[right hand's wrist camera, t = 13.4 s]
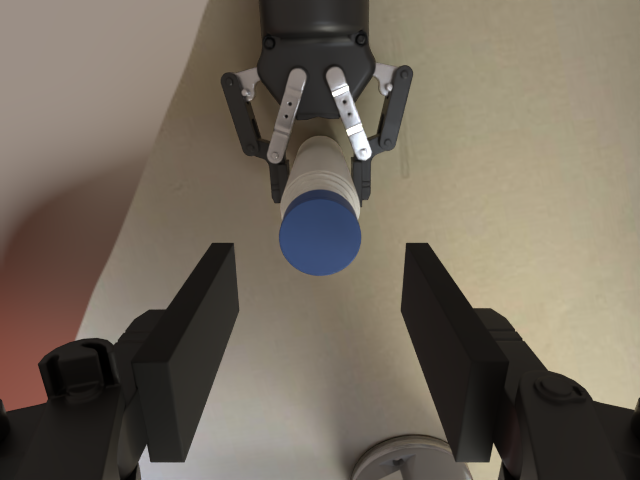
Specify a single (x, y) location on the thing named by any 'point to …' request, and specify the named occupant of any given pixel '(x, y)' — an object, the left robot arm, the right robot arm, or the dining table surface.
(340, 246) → the cap
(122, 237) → the dining table surface
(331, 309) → the dining table surface
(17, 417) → the right robot arm
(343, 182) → the bottle
